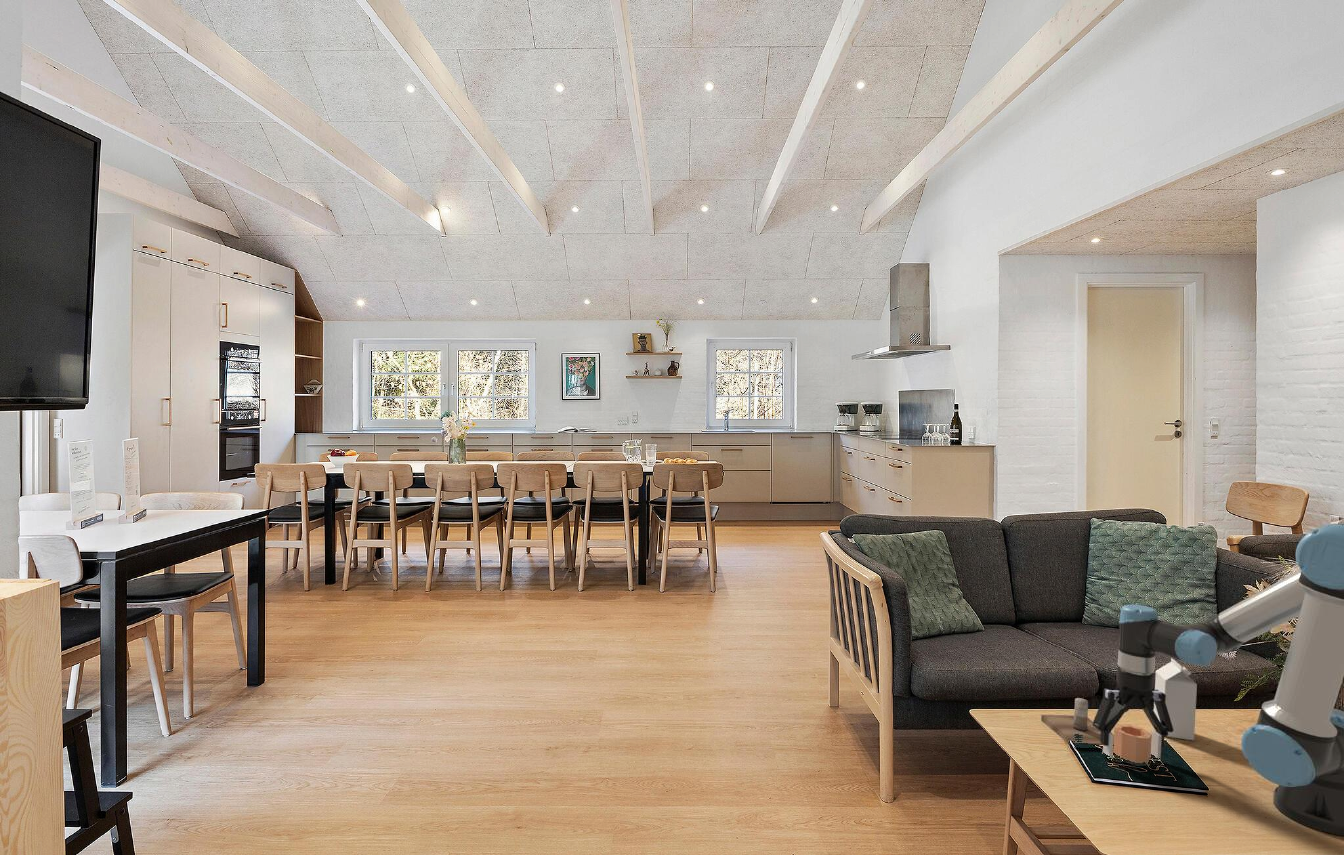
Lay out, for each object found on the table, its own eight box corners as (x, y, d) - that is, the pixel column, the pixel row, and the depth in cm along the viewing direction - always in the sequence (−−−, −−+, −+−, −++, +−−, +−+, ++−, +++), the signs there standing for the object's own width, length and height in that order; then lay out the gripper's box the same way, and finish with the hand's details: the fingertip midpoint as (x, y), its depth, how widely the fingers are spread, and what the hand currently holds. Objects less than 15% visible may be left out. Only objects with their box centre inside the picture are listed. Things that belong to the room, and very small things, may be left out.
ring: (1156, 767, 170) (1157, 738, 170) (1126, 766, 170) (1127, 737, 169) (1136, 752, 177) (1137, 724, 177) (1107, 751, 177) (1108, 724, 177)
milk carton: (1162, 736, 186) (1166, 665, 186) (1152, 725, 193) (1156, 656, 192) (1194, 741, 184) (1197, 668, 183) (1183, 729, 191) (1186, 659, 190)
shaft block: (1122, 749, 178) (1124, 714, 178) (1074, 748, 178) (1076, 713, 178) (1084, 721, 194) (1086, 688, 194) (1041, 720, 194) (1042, 687, 194)
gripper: (1172, 665, 176) (1167, 751, 177) (1078, 662, 176) (1074, 749, 177) (1194, 676, 169) (1190, 767, 170) (1097, 674, 169) (1092, 765, 170)
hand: (1131, 758), depth 173 cm, fingers open, 11 cm apart
